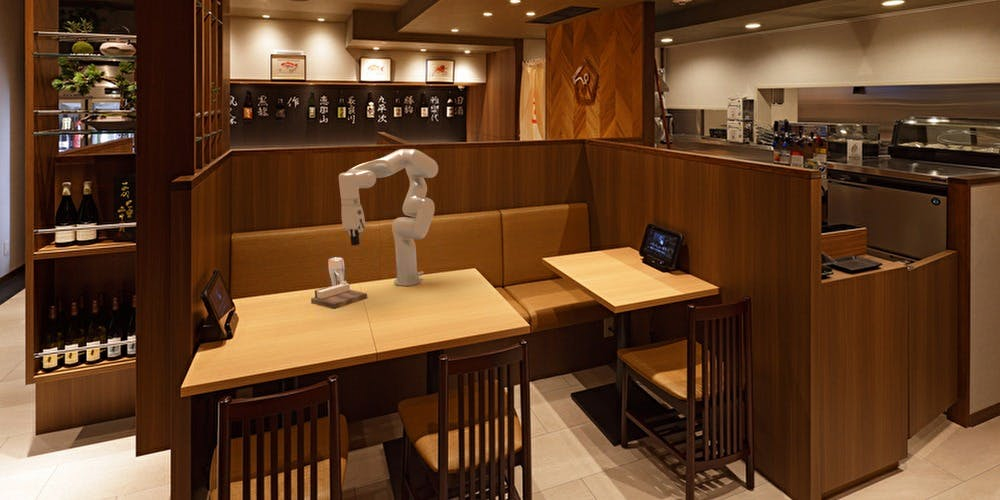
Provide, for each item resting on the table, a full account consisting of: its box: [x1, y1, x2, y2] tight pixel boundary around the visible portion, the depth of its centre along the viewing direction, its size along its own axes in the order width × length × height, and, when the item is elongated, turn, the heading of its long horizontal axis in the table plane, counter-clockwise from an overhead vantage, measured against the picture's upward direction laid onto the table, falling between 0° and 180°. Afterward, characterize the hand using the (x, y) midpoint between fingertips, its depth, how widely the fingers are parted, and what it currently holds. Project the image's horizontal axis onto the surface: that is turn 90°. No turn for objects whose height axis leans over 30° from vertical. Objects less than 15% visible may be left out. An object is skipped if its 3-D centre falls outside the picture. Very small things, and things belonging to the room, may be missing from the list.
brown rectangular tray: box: [310, 285, 368, 310], centre depth 244 cm, size 18×15×5 cm
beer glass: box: [327, 256, 345, 287], centre depth 258 cm, size 7×7×15 cm
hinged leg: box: [317, 280, 351, 299], centre depth 246 cm, size 15×3×4 cm, turn 143°
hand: (355, 244), depth 241 cm, fingers closed
